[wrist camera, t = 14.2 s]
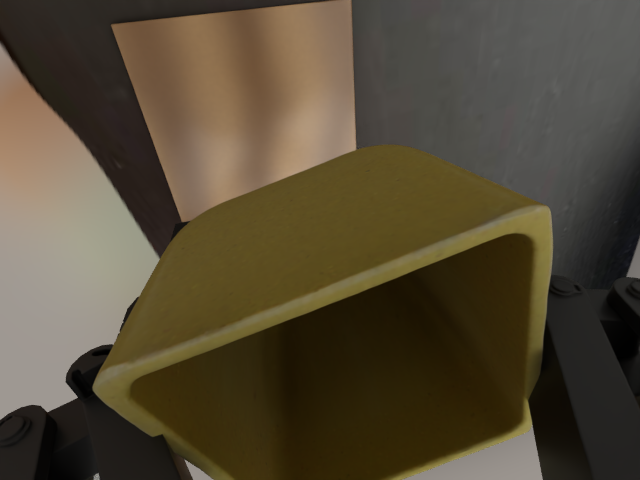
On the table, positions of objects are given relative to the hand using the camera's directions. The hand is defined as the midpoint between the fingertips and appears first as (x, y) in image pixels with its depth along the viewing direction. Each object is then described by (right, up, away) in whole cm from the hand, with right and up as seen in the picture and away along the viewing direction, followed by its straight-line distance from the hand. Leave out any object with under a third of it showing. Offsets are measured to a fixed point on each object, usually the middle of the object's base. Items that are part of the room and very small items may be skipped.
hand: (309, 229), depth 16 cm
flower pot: (0, 0, 0) cm, 0 cm away
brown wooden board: (-4, +8, +11) cm, 14 cm away
